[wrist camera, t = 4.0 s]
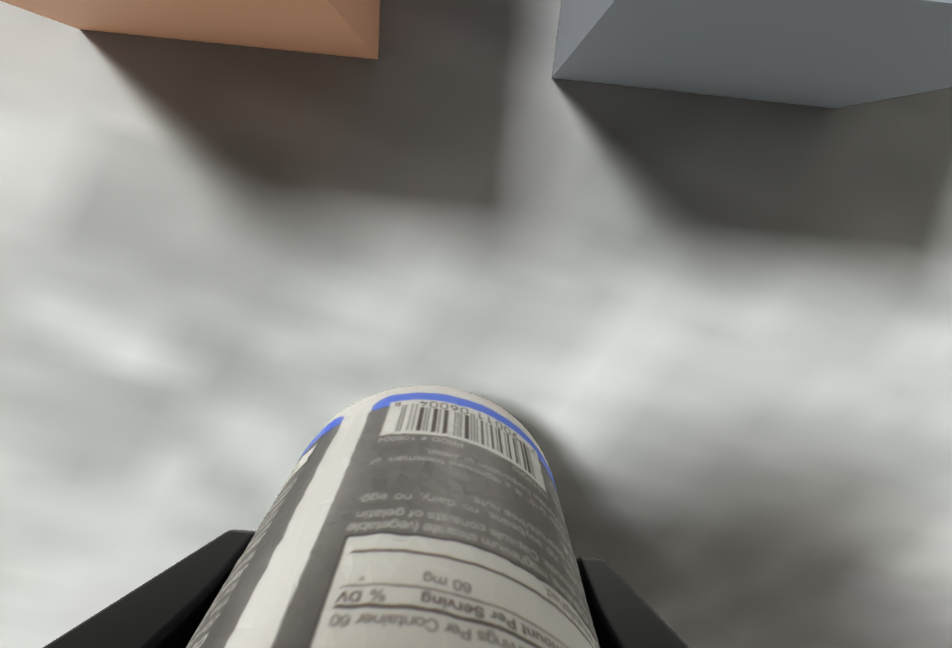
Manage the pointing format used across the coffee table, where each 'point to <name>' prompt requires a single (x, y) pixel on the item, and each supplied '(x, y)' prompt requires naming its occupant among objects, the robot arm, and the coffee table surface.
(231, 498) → the coffee table surface
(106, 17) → the terracotta block
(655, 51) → the slate-grey block
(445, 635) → the pill bottle
